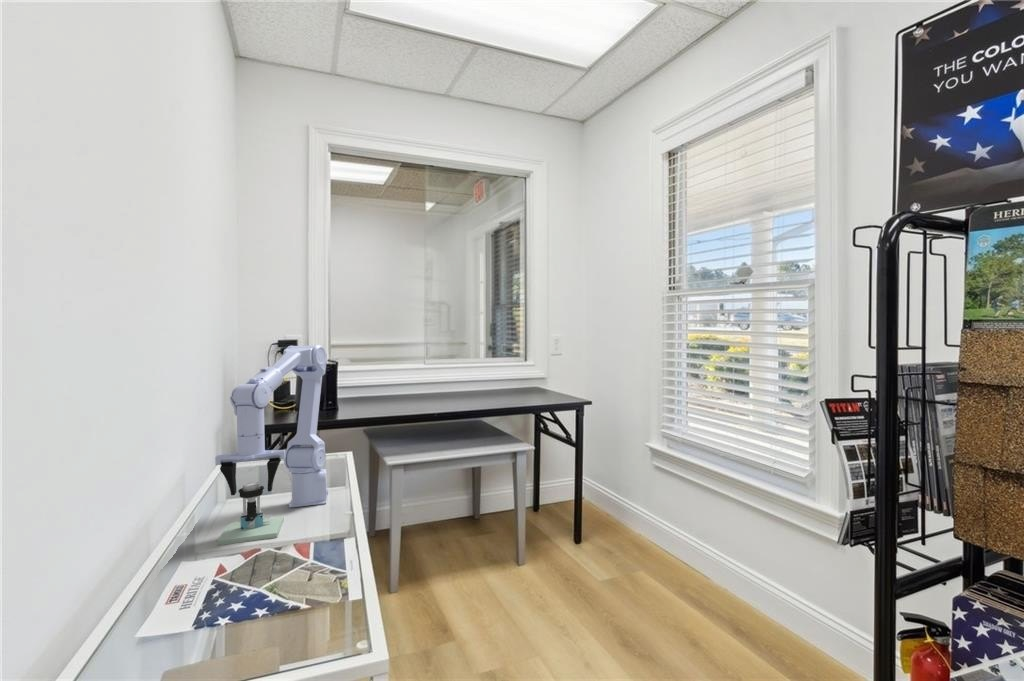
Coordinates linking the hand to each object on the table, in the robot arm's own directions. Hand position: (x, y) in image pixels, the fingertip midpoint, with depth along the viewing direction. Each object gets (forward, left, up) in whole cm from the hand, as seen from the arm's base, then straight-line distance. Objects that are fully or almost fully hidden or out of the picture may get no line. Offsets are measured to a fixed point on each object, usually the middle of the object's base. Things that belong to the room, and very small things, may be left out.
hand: (252, 492), depth 116 cm
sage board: (0, 0, -9) cm, 9 cm away
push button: (0, -1, -8) cm, 9 cm away
